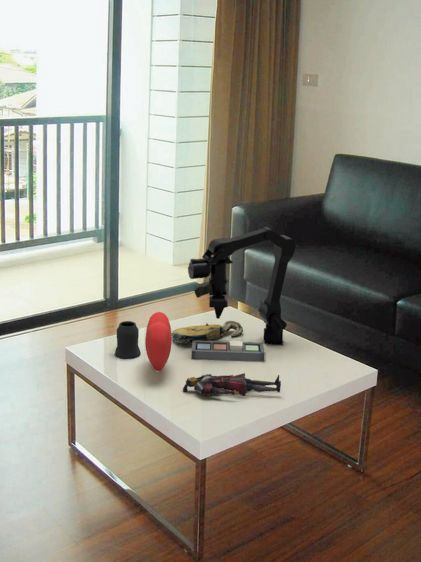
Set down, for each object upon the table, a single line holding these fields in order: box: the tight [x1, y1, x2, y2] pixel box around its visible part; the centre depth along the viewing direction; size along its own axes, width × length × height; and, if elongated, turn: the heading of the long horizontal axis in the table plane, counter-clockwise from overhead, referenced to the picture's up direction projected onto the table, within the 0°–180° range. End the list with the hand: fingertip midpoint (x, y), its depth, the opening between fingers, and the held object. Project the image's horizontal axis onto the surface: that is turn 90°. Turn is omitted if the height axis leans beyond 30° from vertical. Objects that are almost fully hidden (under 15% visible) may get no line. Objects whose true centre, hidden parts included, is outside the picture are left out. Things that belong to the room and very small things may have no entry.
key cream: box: [229, 340, 243, 351], centre depth 258 cm, size 4×4×2 cm
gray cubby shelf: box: [190, 340, 266, 363], centre depth 259 cm, size 25×10×3 cm, turn 89°
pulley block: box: [171, 320, 244, 345], centre depth 273 cm, size 14×6×30 cm
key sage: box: [245, 345, 259, 352], centre depth 258 cm, size 4×4×2 cm
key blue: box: [197, 344, 210, 350], centre depth 259 cm, size 4×4×2 cm
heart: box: [144, 311, 173, 373], centre depth 241 cm, size 20×9×19 cm, turn 3°
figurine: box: [182, 372, 282, 397], centre depth 229 cm, size 13×6×30 cm
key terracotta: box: [213, 344, 226, 351], centre depth 259 cm, size 4×4×2 cm
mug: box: [114, 320, 142, 360], centre depth 257 cm, size 12×9×11 cm
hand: (217, 318), depth 262 cm, fingers closed
